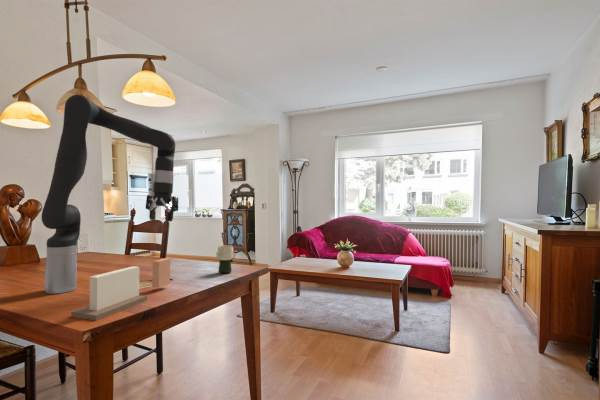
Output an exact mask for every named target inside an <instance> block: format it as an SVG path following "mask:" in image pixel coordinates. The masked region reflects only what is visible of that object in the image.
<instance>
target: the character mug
mask: <svg viewBox="0 0 600 400" xmlns="http://www.w3.org/2000/svg"><path fill="white" fill-rule="evenodd" d="M234 250H235V249H234V248H233V245H231V244H230V245H227V244H226V245H225V244H223V245H219V246H217V251H216V254H215V255H216V256H215V257H216V259H218V260H219V265H218V273H222V274H224V273H226V274H228V273H231V272H232V262H231V260H233V257H234V253H235V251H234Z"/></svg>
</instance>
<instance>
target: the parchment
mask: <svg viewBox="0 0 600 400" xmlns="http://www.w3.org/2000/svg"><path fill="white" fill-rule="evenodd" d="M173 280H174V279H173V278H172V279H171V278H170V281H173ZM149 287H152V279H147V280H139V290H142V289H144V288H149Z"/></svg>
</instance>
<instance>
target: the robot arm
mask: <svg viewBox="0 0 600 400" xmlns="http://www.w3.org/2000/svg"><path fill="white" fill-rule="evenodd" d="M63 109H64V110H63V124H62V125H63V126H62V132H61V136H60V140H59V144H58V149H57V153H56V157H55V162H54V168H53V173H52V177H51V178H52V179H51V182H50V186H49V190H48V193H47V197H46V199H45V203H44V206H43V208H42V211H41V222H42V224H43V226H44V227H45V228H46V229H49V230H55V232H54V234H53V235H52V236H50V237H48V239H47V240H46V266H44V292H45V293H46V294H50V295H51V294H63V293H69V292H71V291H72V292H73V291H74V290H77V270H78V268H77V267H78V266H77V263H78V255H77V254H78V253H77V252H78V251H77V250H78V240H79V239H80V234H81V222H82V221H81V220H82V219H81V212H80V210H79V208H78V207H77V206H75V205H74V204H68V202H69V200H70V199H69V198H70V195H71V193H72V191H73V189H74V188H75V186H76V185H77V184H78V182H79V181H80V180H81V179H82V177H83V176H84V174H85V170H86V166H87V160H88V150H87V149H88V148H87V140H86V139H87V137H86V136H87V129H88V126H89V124H91V125H95V126H98V127H103V128H106V129H108V130H111V131H113V132H116V133H118V134H120V135H123V136H125V137H126V138H129V139H132V140H134V141H138V142H140V143H143V144H148V145H151V146H152V147H155V148H157V153H156V154H157V156H156V158H155V165H154V173H153V183H152V192H153V195H151V194H147V195H146V201H145V209H146V210H148V211H149V220H150V221H155V220H156V210H157V209H158V208H160V207H164V208H165V209H166V211H167V214H166V215H167V217H166V221H167V222H173V220H174V213H175V212H178V210H179V197H178V196H177V195H176V196H175V195H174V196H172V195H173V192H174V191H173V190H174V168H175V167H174V165H175V164H174V161H175V159H174V158H175V153H176V141H175V139H174V137H173V136H172V135H171V134H169V133H168V132H165V131H162V130H159V129H155V128H152V127H150V126H147V125H145V124H142V123H140V122H137V121H134V120H132V119H129V118H126V117H122V116H119V115H117V114H114V113H113V112H112V113H111V112H109V111H107V110H106V109H104V108H102V107H100V106H99V105H97V104H96V103H94V102H93V101H92V100H91V99H89V98H88V97H86V96H84V95H82V94H73V95H71V96H69V97H68V99H66V101H65V105H64V108H63Z"/></svg>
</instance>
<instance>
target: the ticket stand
mask: <svg viewBox="0 0 600 400" xmlns="http://www.w3.org/2000/svg"><path fill="white" fill-rule="evenodd" d="M139 281H140V266H135V265H133V266H127V267H124V268H120V269H117V270H116V269H115V270H113V271H112V270H111V271H108V272H104V273H101V274H95V275H92V276H89V305H87V306H84V307H83V306H82V307H81V308H78V309H74V310H72V311H70V317H71V318H78V319H84V320H88V321H89V320H91V321H96V322H97V321H99V320H101V319H105V318H107V317H109V316H111V315H114V314H118V312H121V311H124V310H127V309H129V308H132V307H134V306H137V305H139V304H141V303H144V302H147V301H148V296H147V295H140V289H139Z"/></svg>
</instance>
